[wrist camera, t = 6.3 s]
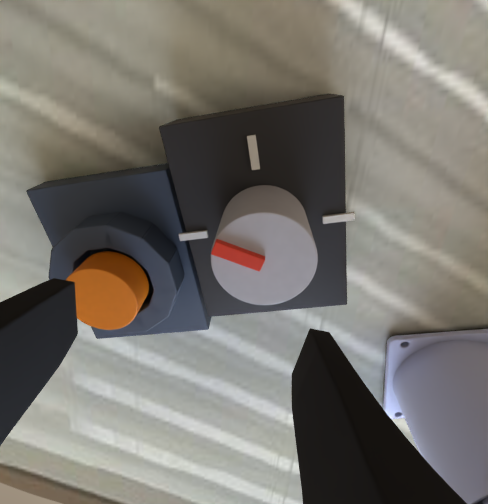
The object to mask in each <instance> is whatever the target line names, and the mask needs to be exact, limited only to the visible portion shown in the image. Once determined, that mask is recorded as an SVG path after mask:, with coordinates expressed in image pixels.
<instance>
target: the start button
mask: <svg viewBox="0 0 488 504" xmlns="http://www.w3.org/2000/svg"><path fill="white" fill-rule="evenodd" d="M66 280H67V281H72V282H75V295H76V313H77V318H78V319H79V320H81V321H82V322H84V323H85V324H87V325H89V326H92V327H95V328H98V329H104V330H114V329H119V328H122V327H125V326H126V325H128V324H130V323H131V322H132V321H133V320H134V318H135V317H136V315H137V313H138V311H139V309H140V308H141V306H142V304H143V302H144V301H145V299H146V297H147V295H148V291H149V283H148V278H147V276H146V274H145V272H144V270H143V269H142V268H141V266H140V265H139V264H138V263H136V262H135V261H134V260H133V259H131V258H130V257H128V256H126V255H123V254H121V253H117V252H112V251H103V252H98V253H95V254H93V255H91V256H89V257H88V258H87V259H86V260H85V261H84V262H83V263H82V264H81V265H80V266H79V267H78V268H77V269H75V270H74V271H73V272H72V273H71V274H70V275H69V276H68V277H67V279H66Z"/></svg>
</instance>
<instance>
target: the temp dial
mask: <svg viewBox="0 0 488 504" xmlns="http://www.w3.org/2000/svg"><path fill="white" fill-rule="evenodd" d="M317 263H318V254H317V248H316V245H315V242H314V239H313V235H312V232H311V229H310V226H309V223H308V219H307V216H306V213H305V210H304V208H303V206H302V205H301V203H300V202H299V201H298V199H297V198H296V197H295V196H293V195H292V194H291V193H289V192H288V191H286V190H284V189H282V188H279V187H276V186H271V185H258V186H253V187H250V188H247V189H245V190H243V191H241V192H240V193H238V194H237V195H236V196H234V197H233V198H232V199H231V200H230V202H229V203H228V205H227V206H226V208H225V210H224V212H223V215H222V218H221V221H220V225H219V228H218V231H217V234H216V237H215V240H214V243H213V246H212V250H211V266H212V270H213V273H214V275H215V277H216V279H217V281H218V282H219V284H220V285H221V286H222V287H223V289H225V290H226V291H227V292H228V293H229V294H231V295H232V296H233V297H235V298H237V299H239V300H241V301H244V302H247V303H250V304H256V305H273V304H278V303H282V302H285V301H288V300H290V299H292V298H294V297H295V296H297V295H298V294H300V293H301V292H302V291H303V290H304V289H305V288H306V287H307V286H308V285H309V283H310V282H311V280H312V278H313V276H314V274H315V272H316V268H317Z"/></svg>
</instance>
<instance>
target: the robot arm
mask: <svg viewBox="0 0 488 504" xmlns="http://www.w3.org/2000/svg"><path fill="white" fill-rule="evenodd" d="M77 334H78V330H77V313H76V295H75V282H72V281H67V280H62V279H57V278H53V279H51V280H48V281H46V282H44V283H41V284H39V285H37V286H35V287H32V288H30V289H28V290H26V291H24V292H22V293H20V294H17V295H15V296H13V297H11V298H9V299H7V300H5V301H2V302H0V445H1V444H2V443H3V441H4V440H5V438H6V437H7V435H8V434H9V433H10V431H11V430H12V429H13V427H14V426H15V425H16V423H17V422H18V421H19V419H20V418H21V417H22V415H23V414H24V413H25V411H26V410H27V409H28V407H29V406H30V405H31V403H32V402H33V401H34V399H35V398H36V397H37V395H38V394H39V393H40V391H41V390H42V389H43V387H44V386H45V385H46V383H47V382H48V381H49V379H50V378H51V376H52V375H53V374H54V372H55V371H56V370H57V368H58V367H59V365H60V364H61V362H62V361H63V359H64V357H65V356H66V354H67V352H68V350H69V349H70V347H71V345H72V343H73V341H74V340H75V338H76V336H77ZM402 342H405V343H402ZM292 412H293V420H294V429H295V437H296V445H297V453H298V461H299V469H300V477H301V486H302V496H303V504H488V329H477V330H464V331H451V332H438V333H424V334H411V335H398V336H392V337H390V338H389V339H388V341H387V352H386V369H385V385H384V402H383V408H382V407H381V406H380V404H379V403H378V402H377V400H376V399H375V398H374V396H373V395H372V394H371V392H370V391H369V389H368V388H367V387H366V385H365V384H364V383H363V381H362V380H361V378H360V377H359V375H358V374H357V373H356V371H355V370H354V368H353V367H352V365H351V364H350V362H349V361H348V359H347V358H346V356H345V355H344V353H343V352H342V350H341V349H340V347H339V346H338V344H337V343H336V341H335V340H334V339H333V337H332V336H331V334H330V333H329V332H325V331H319V330H314V329H310V330H309V332H308V335H307V337H306V340H305V342H304V345H303V348H302V350H301V353H300V355H299V358H298V360H297V363H296V365H295V368H294V370H293V373H292ZM394 418H405V420H406V422H407V425H408V427H409V429H410V432H411V434H412V436H413V439H414V441H415V444H416V446H417V448H418V451H419V452H418V451H417V450H416V449H415V447H414V446H413V445H412V444H411V443H410V442H409V441H408V439H407V438H406V437H405V436H404V435H403V433H402V432H401V431H400V430H399V428H398V427H397V426H396V425H395V423H394V422H393V421H392V420H391V419H394Z"/></svg>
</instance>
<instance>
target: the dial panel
mask: <svg viewBox="0 0 488 504" xmlns="http://www.w3.org/2000/svg"><path fill="white" fill-rule="evenodd" d="M159 129H160V133H161V137H162V141H163V144H164V148H165V152H166V156H167V160H168V164H169V167H170V171H171V175H172V179H173V183H174V187H175V190H176V194H177V198H178V202H179V206H180V210H181V213H182V217H183V221H184V225H185V229H186V233H179V234H178V235H179V239H180V241H186V240H189V244H190V248H191V252H192V256H193V259H194V263H195V267H196V271H197V275H198V279H199V282H200V286H201V290H202V294H203V298H204V302H205V305H206V309H207V313H208V316H209V317H211V316H222V315H233V314H245V313H256V312H267V311H279V310H290V309H301V308H313V307H324V306H335V305H346V304H347V278H346V221H352V220H355V213H354V212H349V213H346V203H345V128H344V96H342V95H335V94H325V95H319V96H313V97H307V98H301V99H295V100H289V101H284V102H278V103H272V104H266V105H260V106H254V107H248V108H242V109H236V110H230V111H224V112H219V113H213V114H207V115H201V116H195V117H189V118H183V119H177V120H175V121H172V122H169V123H167V124H164V125H162V126H160V127H159ZM258 185H271V186H276V187H279V188H282V189H284V190H286V191H288V192H289V193H291V194H292V195H293V196H295V197H296V198H297V199H298V201H299V202H300V203H301V205H302V206H303V208H304V210H305V213H306V216H307V219H308V223H309V226H310V229H311V232H312V235H313V239H314V242H315V245H316V248H317V254H318V263H317V268H316V272H315V274H314V276H313V278H312V280H311V282H310V283H309V285H308V286H307V287H306V288H305V289H304V290H303V291H302V292H301V293H300V294H298V295H297V296H295V297H294V298H292V299H290V300H288V301H285V302H282V303H278V304H273V305H256V304H250V303H247V302H244V301H241V300H239V299H237V298H235V297H233V296H232V295H231V294H229V293H228V292H227V291H226V290H225V289H223V287H222V286H221V285H220V284H219V282H218V281H217V279H216V277H215V275H214V273H213V270H212V266H211V250H212V246H213V243H214V240H215V237H216V234H217V231H218V228H219V225H220V221H221V218H222V215H223V212H224V210H225V208H226V206H227V205H228V203H229V202H230V200H231V199H232V198H233V197H234V196H236V195H237V194H238V193H240V192H241V191H243V190H245V189H247V188H250V187H253V186H258Z"/></svg>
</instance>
